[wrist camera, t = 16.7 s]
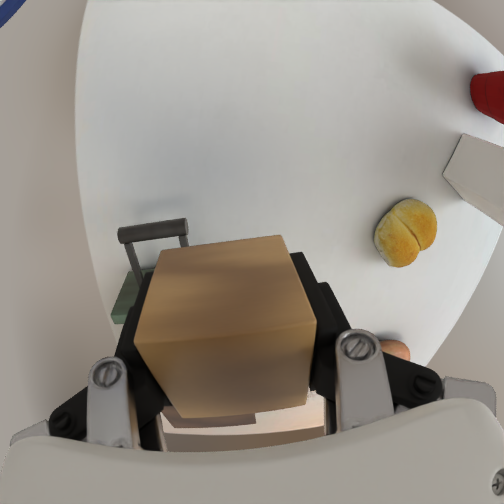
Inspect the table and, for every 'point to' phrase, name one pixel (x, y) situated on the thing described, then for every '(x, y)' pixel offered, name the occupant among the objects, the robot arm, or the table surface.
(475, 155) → the milk carton
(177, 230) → the drawer
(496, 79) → the plastic cup
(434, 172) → the table surface
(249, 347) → the block
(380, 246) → the bread roll
